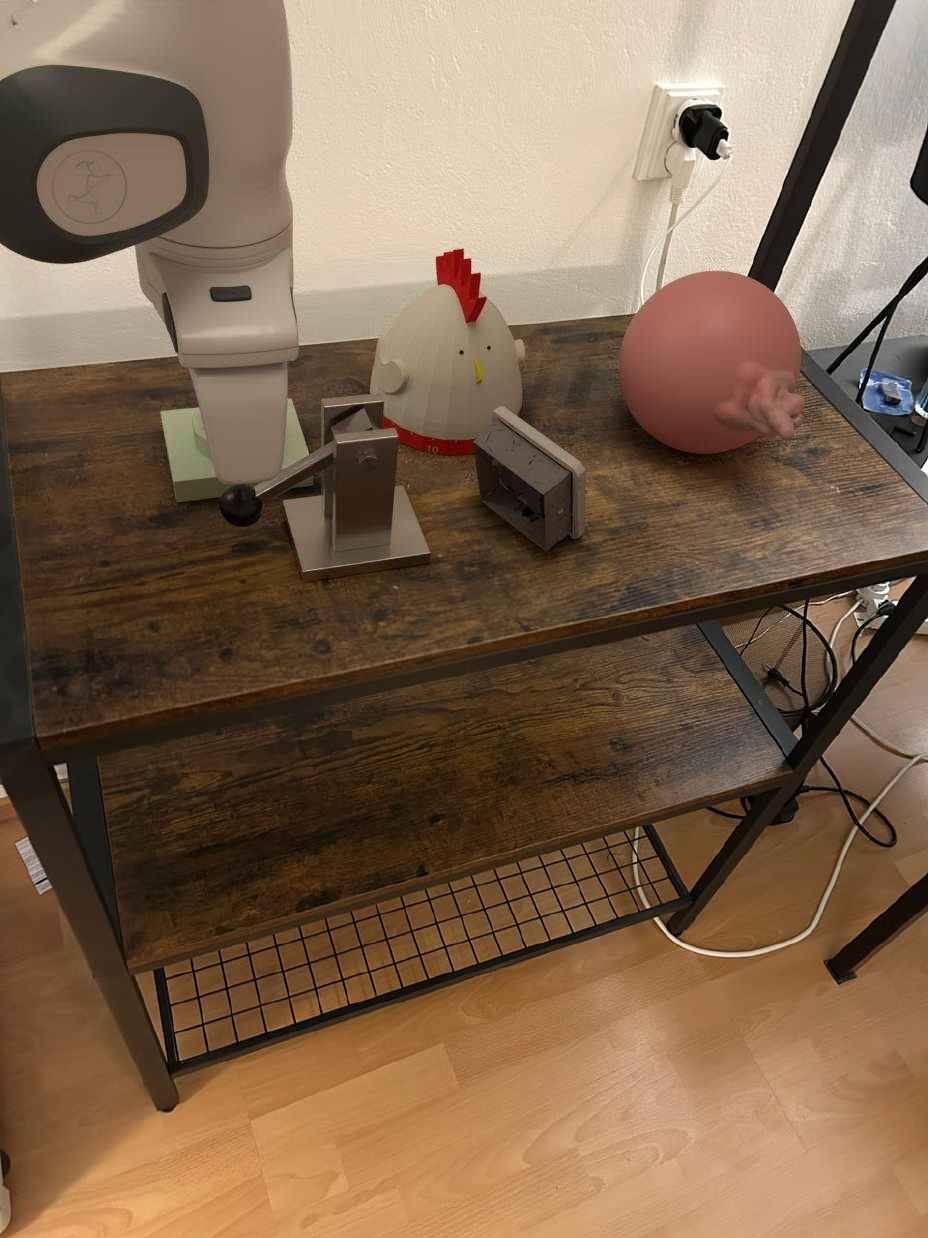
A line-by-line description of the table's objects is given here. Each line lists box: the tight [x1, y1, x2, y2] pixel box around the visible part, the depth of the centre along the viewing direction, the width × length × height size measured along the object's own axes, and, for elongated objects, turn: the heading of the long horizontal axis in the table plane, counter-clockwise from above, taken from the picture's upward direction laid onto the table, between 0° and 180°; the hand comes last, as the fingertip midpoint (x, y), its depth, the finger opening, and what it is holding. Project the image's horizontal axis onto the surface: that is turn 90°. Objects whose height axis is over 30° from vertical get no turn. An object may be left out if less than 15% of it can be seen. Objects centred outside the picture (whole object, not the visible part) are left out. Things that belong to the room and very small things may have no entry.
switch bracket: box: [282, 393, 432, 583], centre depth 72 cm, size 10×8×12 cm
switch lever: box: [218, 408, 379, 528], centre depth 70 cm, size 13×3×3 cm
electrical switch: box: [473, 406, 587, 552], centre depth 77 cm, size 9×5×9 cm, turn 44°
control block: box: [160, 398, 314, 503], centre depth 80 cm, size 11×9×4 cm
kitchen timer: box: [369, 248, 526, 456], centre depth 83 cm, size 14×14×15 cm
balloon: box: [618, 270, 806, 455], centre depth 83 cm, size 15×20×15 cm
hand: (228, 445), depth 66 cm, fingers closed
